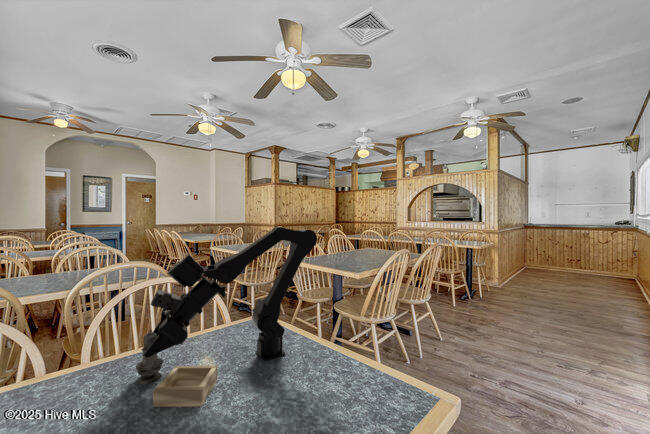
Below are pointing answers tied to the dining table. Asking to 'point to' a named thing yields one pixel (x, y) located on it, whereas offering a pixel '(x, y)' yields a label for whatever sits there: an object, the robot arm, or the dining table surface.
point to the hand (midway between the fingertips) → (146, 348)
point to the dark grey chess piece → (149, 363)
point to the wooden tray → (185, 386)
